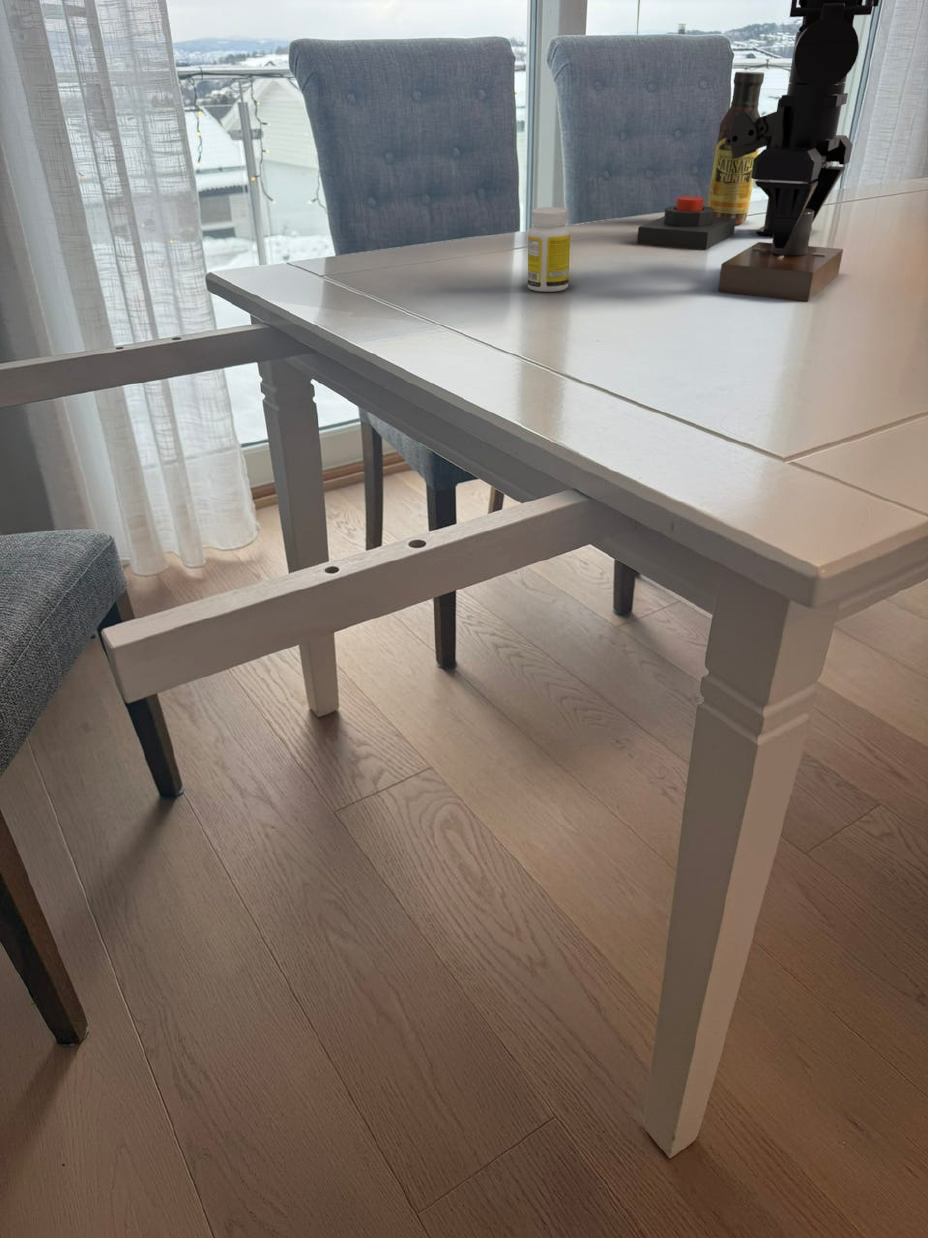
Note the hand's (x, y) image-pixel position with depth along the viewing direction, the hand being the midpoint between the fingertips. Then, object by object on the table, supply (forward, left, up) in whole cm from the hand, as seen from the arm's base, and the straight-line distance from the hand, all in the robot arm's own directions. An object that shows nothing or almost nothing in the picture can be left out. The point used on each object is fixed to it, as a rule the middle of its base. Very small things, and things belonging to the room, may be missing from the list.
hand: (790, 240), depth 103 cm
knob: (0, 0, -1) cm, 1 cm away
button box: (-19, -19, -4) cm, 27 cm away
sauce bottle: (-34, -18, -4) cm, 39 cm away
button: (-19, -19, -1) cm, 27 cm away
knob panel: (+2, 0, -4) cm, 5 cm away
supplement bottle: (+16, -23, -4) cm, 28 cm away
